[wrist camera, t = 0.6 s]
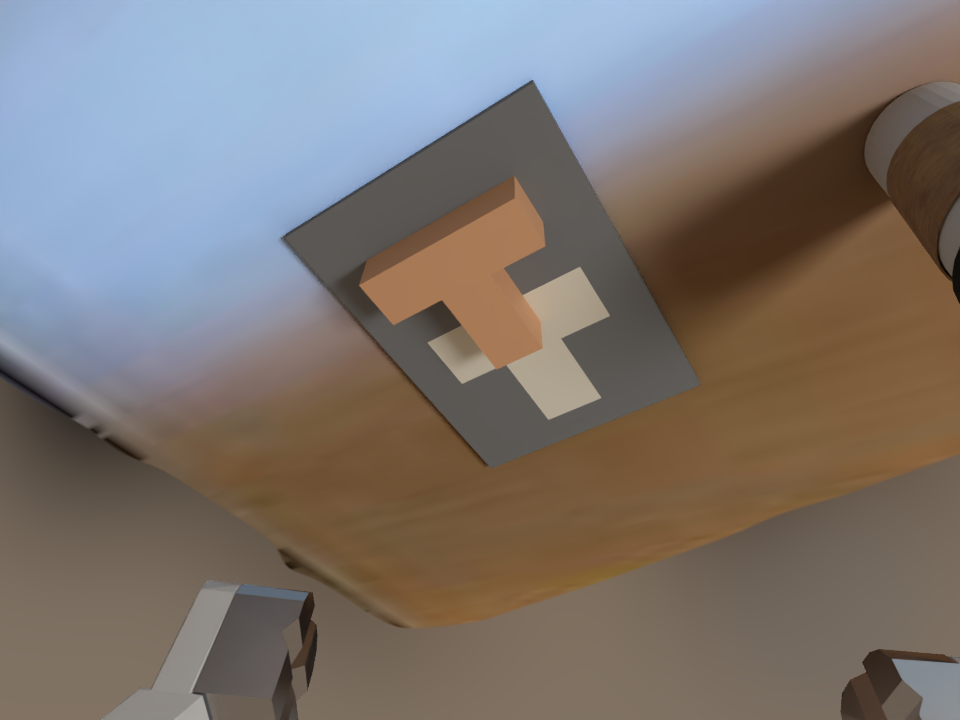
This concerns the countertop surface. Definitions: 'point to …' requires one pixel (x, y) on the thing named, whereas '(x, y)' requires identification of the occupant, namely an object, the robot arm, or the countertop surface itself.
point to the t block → (467, 272)
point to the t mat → (539, 277)
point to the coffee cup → (923, 168)
